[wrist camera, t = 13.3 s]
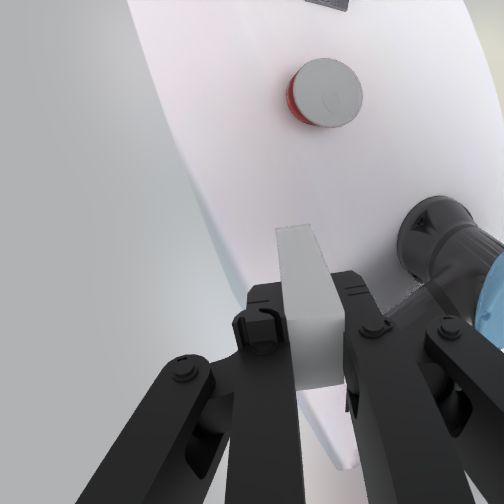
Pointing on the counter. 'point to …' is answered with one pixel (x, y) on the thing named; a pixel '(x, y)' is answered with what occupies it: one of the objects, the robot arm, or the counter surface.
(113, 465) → the robot arm
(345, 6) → the gate post
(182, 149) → the counter surface
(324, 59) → the canned food
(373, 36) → the counter surface
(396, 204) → the counter surface
